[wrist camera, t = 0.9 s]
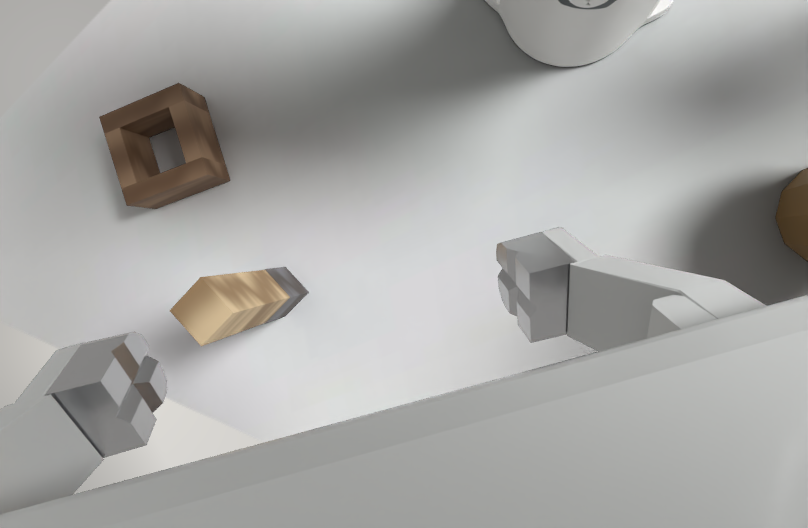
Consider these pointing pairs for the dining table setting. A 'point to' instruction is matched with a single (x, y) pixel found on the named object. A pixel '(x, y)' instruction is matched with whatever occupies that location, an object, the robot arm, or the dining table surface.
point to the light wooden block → (237, 302)
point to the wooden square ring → (137, 158)
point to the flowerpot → (795, 214)
